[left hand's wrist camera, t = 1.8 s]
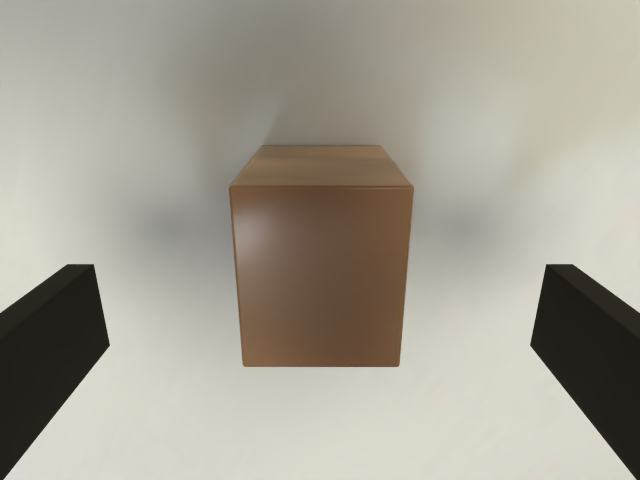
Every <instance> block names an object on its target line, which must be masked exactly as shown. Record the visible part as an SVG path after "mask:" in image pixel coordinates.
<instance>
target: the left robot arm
mask: <svg viewBox="0 0 640 480" xmlns="http://www.w3.org/2000/svg"><path fill="white" fill-rule="evenodd" d="M109 346H110V344H109V339H108V334H107V329H106V324H105V319H104V314H103V309H102V304H101V299H100V294H99V289H98V284H97V278H96V273H95V268H94V264H67V265H66V266H64V267H63V268H62V269H60V270H59V271H58V272H56V273H55V274H53V275H52V276H51V277H49V278H48V279H47V280H45V281H44V282H42V283H41V284H40V285H38V286H37V287H36V288H34V289H33V290H31V291H30V292H29V293H27V294H26V295H25V296H23V297H22V298H20V299H19V300H18V301H16V302H15V303H14V304H12V305H11V306H9V307H8V308H7V309H5V310H4V311H3V312H1V313H0V480H4V478H5V477H6V476H7V474H8V473H9V472H10V471H11V469H12V468H13V467H14V466H15V464H16V463H17V462H18V461H19V459H20V458H21V457H22V456H23V454H24V453H25V452H26V451H27V449H28V448H29V447H30V445H31V444H32V443H33V442H34V440H35V439H36V438H37V437H38V435H39V434H40V433H41V432H42V430H43V429H44V428H45V427H46V425H47V424H48V423H49V422H50V420H51V419H52V418H53V416H54V415H55V414H56V413H57V411H58V410H59V409H60V408H61V406H62V405H63V404H64V403H65V401H66V400H67V399H68V398H69V396H70V395H71V394H72V393H73V391H74V390H75V389H76V387H77V386H78V385H79V384H80V382H81V381H82V380H83V379H84V377H85V376H86V375H87V374H88V372H89V371H90V370H91V369H92V367H93V366H94V365H95V364H96V362H97V361H98V360H99V358H100V357H101V356H102V355H103V353H104V352H105V351H106V350H107V348H108V347H109ZM530 346H531V347H532V348H533V350H534V351H535V352H536V353H537V355H538V356H539V357H540V358H541V360H542V361H543V362H544V364H545V365H546V366H547V367H548V369H549V370H550V371H551V372H552V374H553V375H554V376H555V377H556V379H557V380H558V381H559V382H560V384H561V385H562V386H563V387H564V389H565V390H566V391H567V393H568V394H569V395H570V396H571V398H572V399H573V400H574V401H575V403H576V404H577V405H578V406H579V408H580V409H581V410H582V411H583V413H584V414H585V415H586V416H587V418H588V419H589V420H590V422H591V423H592V424H593V425H594V427H595V428H596V429H597V430H598V432H599V433H600V434H601V435H602V437H603V438H604V439H605V440H606V442H607V443H608V444H609V445H610V447H611V448H612V449H613V451H614V452H615V453H616V454H617V456H618V457H619V458H620V459H621V461H622V462H623V463H624V464H625V466H626V467H627V468H628V469H629V471H630V472H631V473H632V474H633V476H634V477H635V478H636V480H640V313H639V312H637V311H636V310H635V309H633V308H632V307H631V306H629V305H628V304H626V303H625V302H624V301H622V300H621V299H620V298H618V297H617V296H615V295H614V294H613V293H611V292H610V291H609V290H607V289H606V288H604V287H603V286H602V285H600V284H599V283H598V282H596V281H595V280H593V279H592V278H591V277H589V276H588V275H587V274H585V273H584V272H582V271H581V270H580V269H578V268H577V267H576V266H574V265H573V264H546V268H545V273H544V278H543V283H542V289H541V294H540V299H539V304H538V309H537V314H536V319H535V324H534V329H533V334H532V339H531V344H530Z"/></svg>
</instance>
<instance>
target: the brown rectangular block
mask: <svg viewBox="0 0 640 480" xmlns="http://www.w3.org/2000/svg"><path fill="white" fill-rule="evenodd" d="M413 192H414V188H413V185H412V184H411V183H410V182H409V181H408V179H407V178H406V177H405V176H404V174H403V173H402V172H401V171H400V169H399V168H398V167H397V166H396V165H395V163H394V162H393V161H392V160H391V158H390V157H389V156H388V155H387V153H386V152H385V151H384V150H383V149H382V147H381V146H261V148H260V149H259V150H258V151H257V153H256V154H255V155H254V156H253V158H252V159H251V160H250V161H249V163H248V164H247V165H246V166H245V168H244V169H243V170H242V171H241V173H240V174H239V175H238V176H237V178H236V179H235V180H234V181H233V183H232V184H231V185H230V187H229V195H230V208H231V221H232V233H233V246H234V259H235V272H236V284H237V297H238V310H239V323H240V335H241V348H242V361H243V366H245V367H398V366H399V364H400V353H401V340H402V328H403V316H404V303H405V291H406V279H407V266H408V254H409V242H410V229H411V217H412V204H413Z"/></svg>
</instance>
